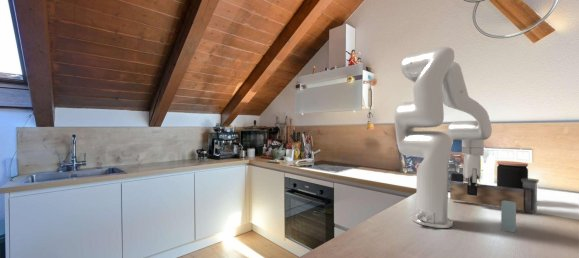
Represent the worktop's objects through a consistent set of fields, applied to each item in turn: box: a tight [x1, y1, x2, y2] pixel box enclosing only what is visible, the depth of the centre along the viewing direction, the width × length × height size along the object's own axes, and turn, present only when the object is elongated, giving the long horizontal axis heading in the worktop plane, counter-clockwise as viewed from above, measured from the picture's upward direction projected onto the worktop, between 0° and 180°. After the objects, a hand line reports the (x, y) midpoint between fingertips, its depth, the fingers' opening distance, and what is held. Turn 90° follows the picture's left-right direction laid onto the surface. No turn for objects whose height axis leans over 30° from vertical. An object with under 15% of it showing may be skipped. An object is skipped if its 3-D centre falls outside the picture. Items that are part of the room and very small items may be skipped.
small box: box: [448, 170, 465, 194], centre depth 134 cm, size 11×6×10 cm, turn 168°
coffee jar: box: [496, 160, 529, 189], centre depth 115 cm, size 11×11×18 cm
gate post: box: [521, 177, 540, 214], centre depth 100 cm, size 4×4×13 cm
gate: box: [449, 181, 531, 213], centre depth 106 cm, size 27×2×8 cm, turn 52°
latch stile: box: [500, 200, 517, 233], centre depth 81 cm, size 3×3×9 cm
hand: (472, 194), depth 106 cm, fingers closed
